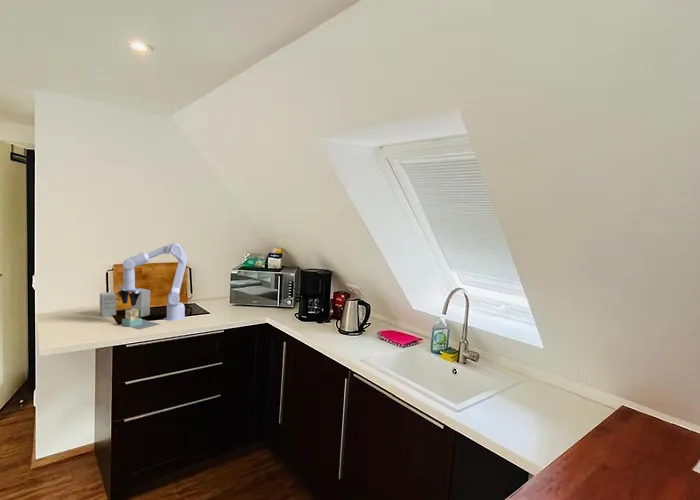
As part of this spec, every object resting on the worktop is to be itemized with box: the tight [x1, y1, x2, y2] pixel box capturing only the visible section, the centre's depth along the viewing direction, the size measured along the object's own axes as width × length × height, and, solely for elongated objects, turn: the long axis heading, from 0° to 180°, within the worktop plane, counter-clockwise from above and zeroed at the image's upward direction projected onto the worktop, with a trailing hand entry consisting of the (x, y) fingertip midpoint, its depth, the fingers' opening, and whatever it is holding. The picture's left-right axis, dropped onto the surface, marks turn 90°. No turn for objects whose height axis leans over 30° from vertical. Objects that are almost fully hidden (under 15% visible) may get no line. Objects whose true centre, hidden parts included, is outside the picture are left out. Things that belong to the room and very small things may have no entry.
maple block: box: [124, 308, 139, 321], centre depth 229 cm, size 4×4×5 cm
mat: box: [120, 318, 161, 330], centre depth 231 cm, size 13×16×1 cm
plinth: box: [121, 317, 143, 328], centre depth 230 cm, size 7×7×3 cm
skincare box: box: [131, 287, 151, 318], centre depth 249 cm, size 8×7×16 cm
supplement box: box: [99, 291, 117, 317], centre depth 248 cm, size 7×7×13 cm
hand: (129, 304), depth 235 cm, fingers open, 7 cm apart
